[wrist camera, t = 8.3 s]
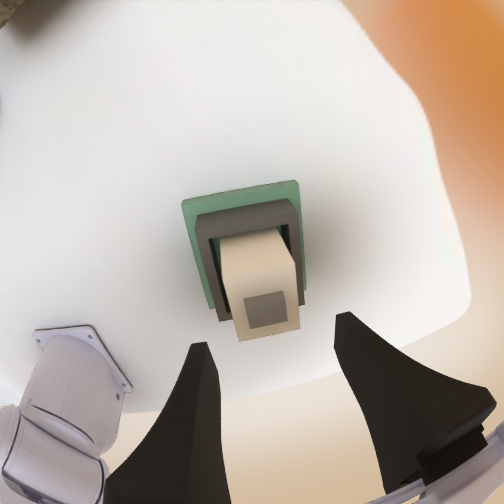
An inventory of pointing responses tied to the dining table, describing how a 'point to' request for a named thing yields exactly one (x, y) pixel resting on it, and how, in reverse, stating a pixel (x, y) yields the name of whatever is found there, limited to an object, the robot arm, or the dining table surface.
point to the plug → (259, 283)
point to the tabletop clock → (8, 10)
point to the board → (242, 220)
